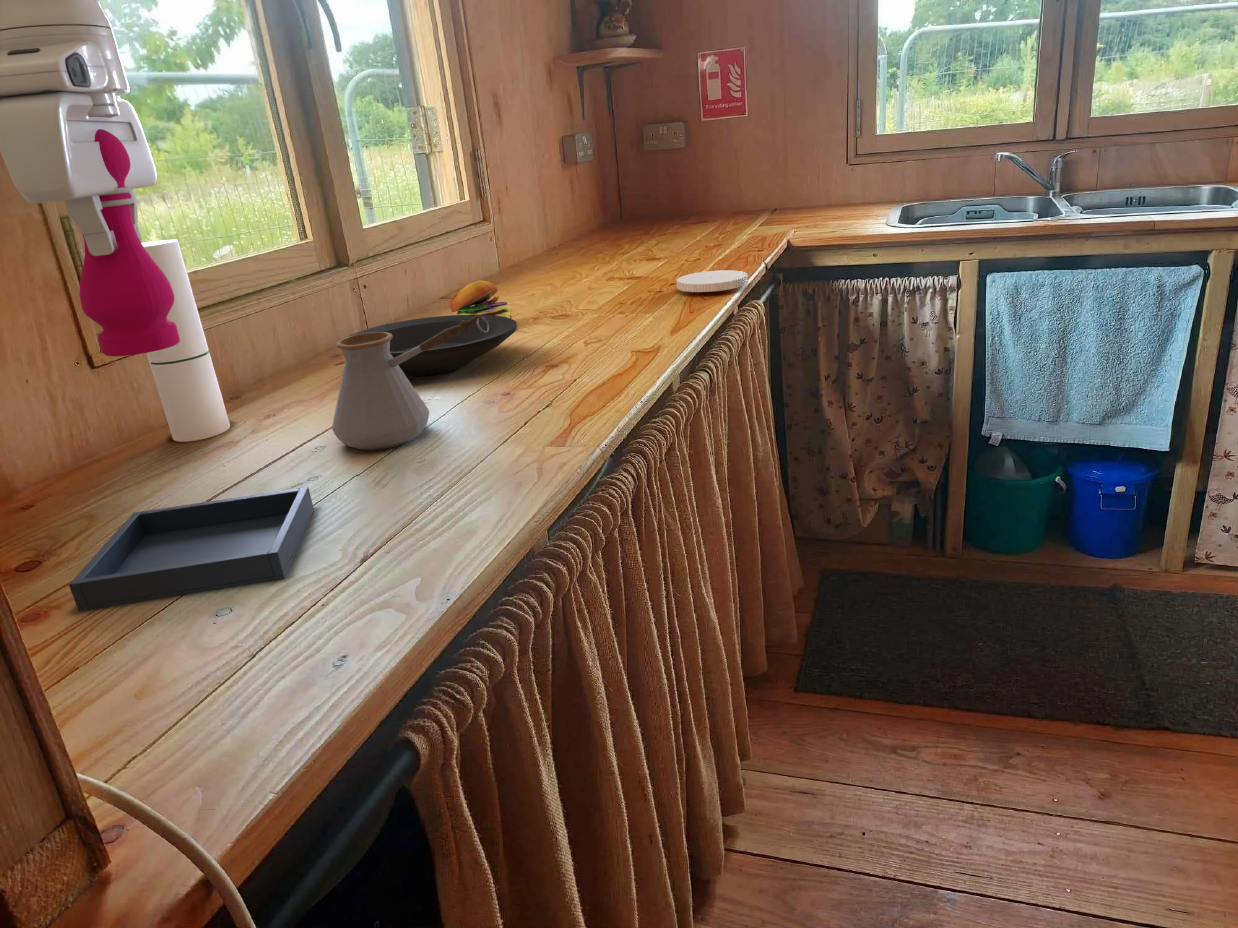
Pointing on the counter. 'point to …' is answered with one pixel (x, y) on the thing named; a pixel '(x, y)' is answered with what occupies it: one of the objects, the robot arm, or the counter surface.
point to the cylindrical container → (185, 358)
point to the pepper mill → (125, 274)
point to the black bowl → (450, 352)
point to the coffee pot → (382, 391)
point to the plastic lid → (712, 281)
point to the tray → (196, 549)
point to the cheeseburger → (479, 300)
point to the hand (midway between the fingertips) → (118, 250)
